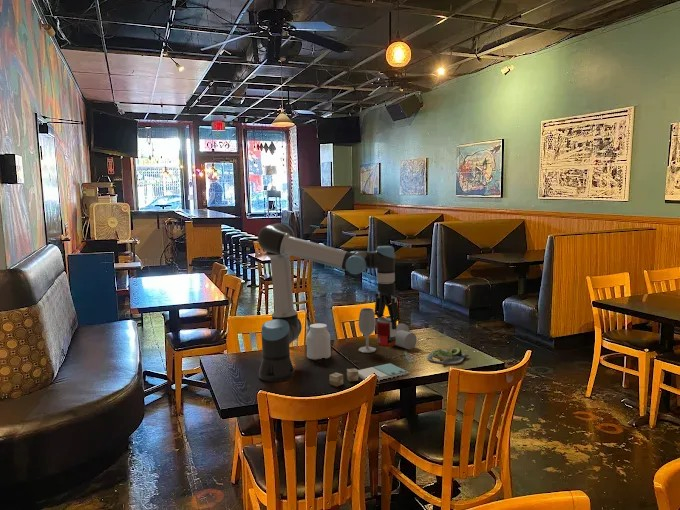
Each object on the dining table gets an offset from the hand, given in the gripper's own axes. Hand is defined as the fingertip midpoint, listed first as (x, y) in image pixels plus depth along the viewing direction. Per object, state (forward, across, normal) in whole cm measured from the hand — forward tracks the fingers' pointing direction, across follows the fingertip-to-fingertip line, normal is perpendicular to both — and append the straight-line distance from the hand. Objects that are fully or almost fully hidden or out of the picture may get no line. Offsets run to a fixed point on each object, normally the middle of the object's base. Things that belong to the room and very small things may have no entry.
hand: (387, 334), depth 220 cm
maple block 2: (+17, +1, +18) cm, 24 cm away
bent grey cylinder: (+17, +31, -31) cm, 47 cm away
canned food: (+5, 0, 0) cm, 5 cm away
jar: (+17, +36, +15) cm, 42 cm away
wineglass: (+17, +30, -9) cm, 36 cm away
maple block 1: (+17, 0, +26) cm, 31 cm away
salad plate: (+18, 0, -34) cm, 38 cm away
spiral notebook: (+17, 0, +4) cm, 17 cm away
